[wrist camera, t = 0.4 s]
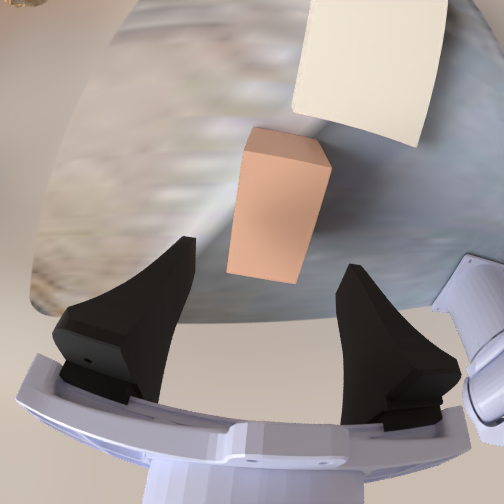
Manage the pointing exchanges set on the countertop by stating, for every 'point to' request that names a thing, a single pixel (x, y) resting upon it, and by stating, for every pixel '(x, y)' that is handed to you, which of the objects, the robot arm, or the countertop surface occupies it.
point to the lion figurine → (25, 3)
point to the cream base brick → (371, 64)
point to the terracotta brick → (276, 204)
